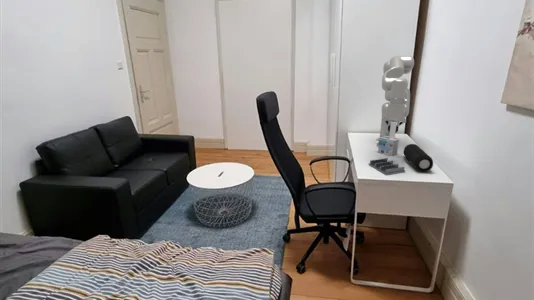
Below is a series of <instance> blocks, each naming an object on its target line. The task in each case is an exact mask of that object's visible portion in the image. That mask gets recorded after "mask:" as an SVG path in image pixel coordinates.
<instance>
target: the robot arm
mask: <svg viewBox="0 0 534 300" xmlns="http://www.w3.org/2000/svg"><path fill="white" fill-rule="evenodd" d="M414 66H415V59H414V57H413V56H411V55H395V56H393V57H391V58H390V59H389V61H386V62H384V64H383V68H382V70H383V75H382V77H381V89H382V90H384V99H385V101H387V102H385V103H383V104H382V105H381V121H380V130H379V137H378V138H376V141H377V143H376V144H375V146H376V147H377V148H378V146H379V138H380V137H382V136H389V134H390V126H391V121H397V125H396V132H395V134H397V133H398V132H399V127H400V126H401V125H404V124H405V123H407V119H406V118H407V117H408V116H409V114H410V103H411V91H410V89H409V88H408V87H409V81H408V79H407V78H406V77H405V78H404V77H402V76H403V75H404V74H405V75H406V74H410V73H411V72H412V71H413V68H414Z"/></svg>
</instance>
